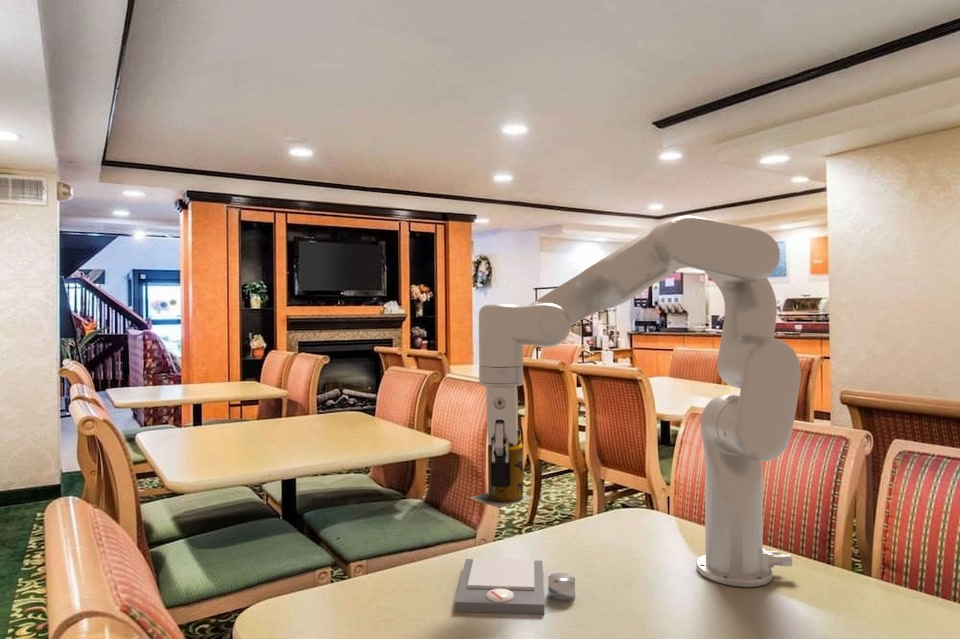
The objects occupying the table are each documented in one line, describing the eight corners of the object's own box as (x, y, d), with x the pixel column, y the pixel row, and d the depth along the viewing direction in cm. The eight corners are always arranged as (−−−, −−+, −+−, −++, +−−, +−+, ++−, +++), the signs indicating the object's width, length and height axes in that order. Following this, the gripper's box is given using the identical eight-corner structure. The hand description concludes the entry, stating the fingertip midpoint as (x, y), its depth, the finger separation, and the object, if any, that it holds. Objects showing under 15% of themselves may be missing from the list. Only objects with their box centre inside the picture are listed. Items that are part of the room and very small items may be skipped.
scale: (542, 568, 115) (542, 558, 115) (544, 614, 98) (544, 601, 98) (465, 566, 116) (465, 556, 116) (454, 611, 99) (454, 598, 99)
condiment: (534, 497, 109) (533, 428, 108) (499, 509, 103) (499, 435, 102) (503, 489, 114) (503, 423, 114) (469, 499, 108) (468, 429, 108)
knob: (574, 590, 106) (574, 573, 106) (576, 603, 102) (576, 584, 102) (548, 590, 107) (547, 572, 107) (548, 602, 102) (548, 583, 102)
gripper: (522, 382, 99) (522, 495, 100) (523, 371, 117) (524, 468, 117) (474, 382, 100) (475, 495, 100) (483, 371, 117) (483, 467, 118)
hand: (501, 479), depth 109 cm, fingers closed on condiment, 6 cm apart
